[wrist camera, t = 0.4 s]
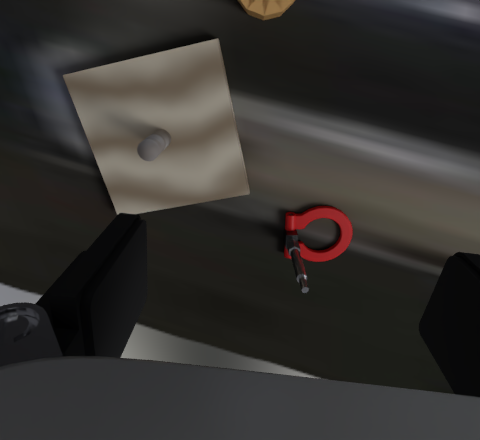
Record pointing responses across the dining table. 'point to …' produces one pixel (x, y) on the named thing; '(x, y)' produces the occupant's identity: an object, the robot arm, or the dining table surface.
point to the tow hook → (298, 249)
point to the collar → (265, 8)
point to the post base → (162, 128)
